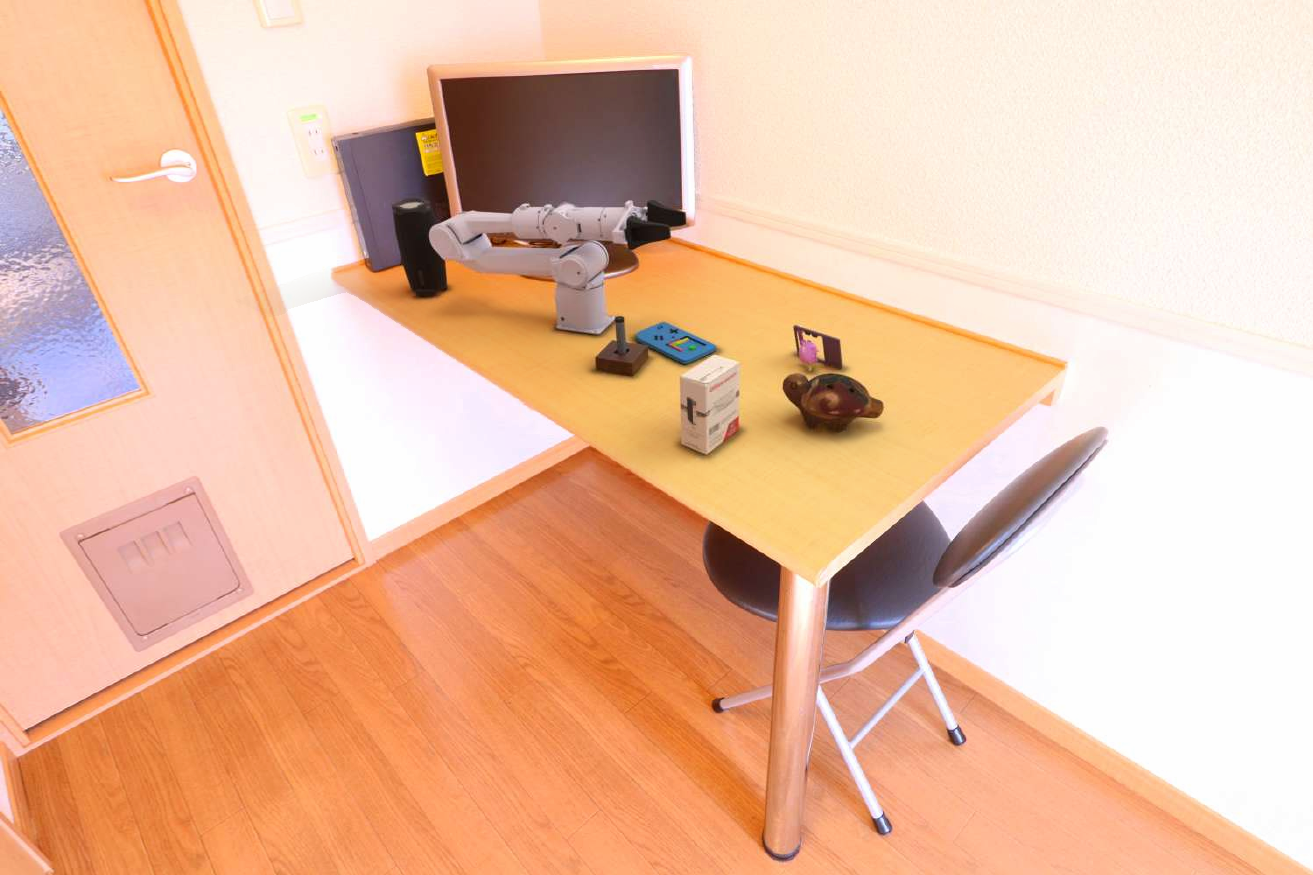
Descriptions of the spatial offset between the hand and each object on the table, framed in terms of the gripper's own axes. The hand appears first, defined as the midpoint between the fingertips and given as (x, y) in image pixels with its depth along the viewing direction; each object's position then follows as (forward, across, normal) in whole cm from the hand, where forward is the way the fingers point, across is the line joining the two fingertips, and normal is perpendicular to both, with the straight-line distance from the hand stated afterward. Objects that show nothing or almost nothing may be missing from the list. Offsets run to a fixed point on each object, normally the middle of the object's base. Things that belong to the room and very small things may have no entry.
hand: (677, 225), depth 123 cm
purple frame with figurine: (+24, -3, +24) cm, 34 cm away
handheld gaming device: (-2, -3, +22) cm, 22 cm away
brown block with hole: (-8, -13, +21) cm, 26 cm away
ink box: (+14, -30, +23) cm, 40 cm away
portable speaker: (-63, +5, +17) cm, 65 cm away
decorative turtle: (+30, -20, +24) cm, 43 cm away
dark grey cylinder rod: (-8, -13, +21) cm, 26 cm away
